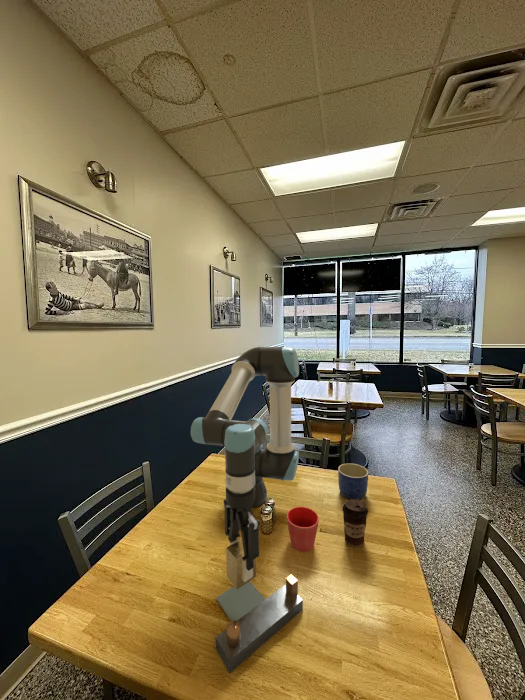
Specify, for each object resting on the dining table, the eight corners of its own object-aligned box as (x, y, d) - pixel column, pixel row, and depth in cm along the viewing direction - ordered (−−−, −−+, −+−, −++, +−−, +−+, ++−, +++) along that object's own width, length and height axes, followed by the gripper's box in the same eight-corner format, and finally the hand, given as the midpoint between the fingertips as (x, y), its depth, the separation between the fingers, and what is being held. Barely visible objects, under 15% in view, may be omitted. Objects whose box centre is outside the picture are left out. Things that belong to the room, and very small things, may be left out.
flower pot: (322, 537, 100) (322, 510, 100) (313, 560, 90) (313, 531, 90) (292, 528, 105) (292, 503, 104) (282, 550, 95) (281, 522, 94)
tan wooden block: (237, 589, 72) (236, 559, 72) (226, 576, 76) (226, 547, 76) (256, 576, 76) (256, 548, 75) (245, 564, 80) (245, 537, 79)
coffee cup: (369, 552, 93) (370, 514, 92) (342, 548, 95) (343, 511, 94) (365, 533, 102) (366, 498, 101) (341, 530, 104) (341, 495, 103)
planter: (370, 491, 128) (371, 467, 127) (363, 506, 117) (364, 480, 116) (342, 483, 134) (343, 460, 133) (334, 497, 124) (334, 472, 123)
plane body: (229, 673, 61) (228, 643, 61) (215, 649, 66) (214, 620, 65) (302, 610, 75) (302, 585, 74) (286, 593, 79) (286, 569, 79)
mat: (216, 599, 78) (216, 597, 78) (246, 579, 84) (246, 577, 84) (236, 630, 70) (236, 627, 70) (268, 605, 76) (268, 603, 76)
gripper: (210, 476, 79) (212, 556, 81) (248, 509, 65) (249, 605, 67) (233, 468, 84) (235, 544, 86) (274, 496, 70) (274, 587, 71)
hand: (241, 570), depth 76 cm, fingers closed on tan wooden block, 5 cm apart
